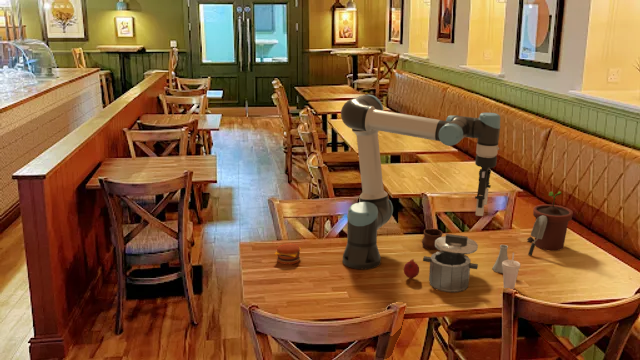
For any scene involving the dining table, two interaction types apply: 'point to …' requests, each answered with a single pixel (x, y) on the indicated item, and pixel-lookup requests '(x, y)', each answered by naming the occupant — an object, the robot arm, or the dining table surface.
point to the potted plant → (549, 226)
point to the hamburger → (288, 253)
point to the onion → (411, 269)
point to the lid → (456, 244)
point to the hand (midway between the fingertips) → (481, 209)
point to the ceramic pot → (431, 238)
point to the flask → (501, 259)
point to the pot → (449, 271)
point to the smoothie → (510, 272)
